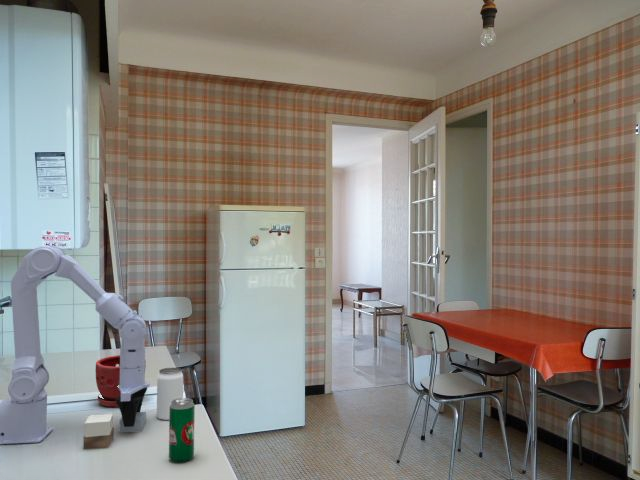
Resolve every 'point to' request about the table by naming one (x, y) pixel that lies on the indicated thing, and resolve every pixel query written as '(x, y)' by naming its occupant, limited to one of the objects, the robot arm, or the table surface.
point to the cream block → (98, 425)
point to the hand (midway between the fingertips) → (131, 422)
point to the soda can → (181, 430)
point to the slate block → (138, 424)
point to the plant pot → (108, 379)
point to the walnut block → (98, 441)
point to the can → (168, 390)
